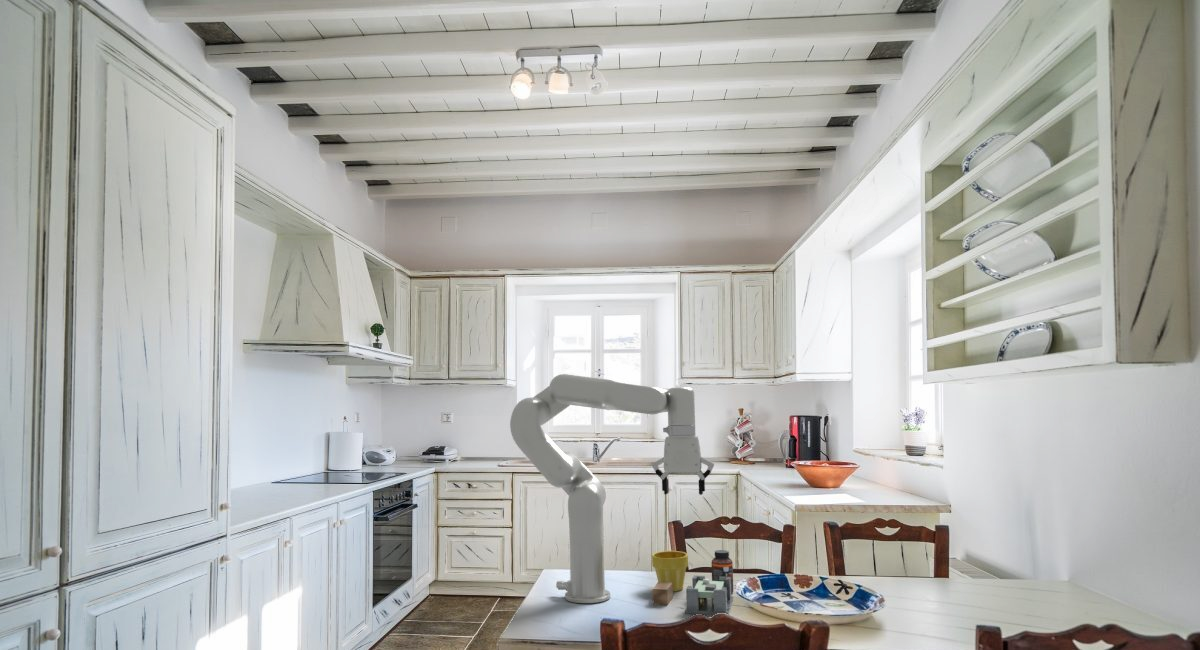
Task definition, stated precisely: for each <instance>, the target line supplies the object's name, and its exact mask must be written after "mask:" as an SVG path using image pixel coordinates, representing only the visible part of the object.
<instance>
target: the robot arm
mask: <svg viewBox="0 0 1200 650" xmlns="http://www.w3.org/2000/svg"><path fill="white" fill-rule="evenodd" d="M570 406H576V407H577V406H578V407H585V408H591V409H599V410H606V411H609V410H610V411H613V410H614V411H624V412H630V413H631V412H632V413H636V414H638V413H639V414H643V415H644V414H645V415H657V414H660V413H661V414H662V413H667V424H668V425H667V426H665V427H663V428H662V432H663V433H666V434H667V435H668V436H665V439H664V447H663V457H662V458H660V459H658V460H657V461H654V462H652V463H651V466H652V468H653V470H654V472H655V474H656V475H657V476H658V477H659V478H660V480H661V489H662V490H661V491H662V492H663V493H664V495H668V494H669V492H670V491H669V490H670V489H669V478H668V476H669V475H670V474H696V475H697V477H698V478H699V480H698V495H700V496H701V495H703V494H704V492H706V483H705V482H706V481H705V480H706V478H707V477H708V476H709V475H710V474H711V473H712V471H713V469H714V466H715V462H712V461H711V460H708V459H707V458H704V457H702V454H701V446H700V441H699V436H696V413H695V412H696V411H695V410H696V408H695V407H696V406H695V391H694V389H693V388H691V387H687V386H686V387H684V386H683V387H682V386H680V387H678V386H677V387H671V388H664V387H663V388H662V387H656V386H647V385H638V384H631V383H624V382H623V383H622V382H618V381H615V380H611V379H606V378H599V377H591V376H590V377H589V376H581V375H575V374H566V373H563V374H562V373H561V374H558V375H556V376H553V378H552V379H551V380H550V383H549V386H547V387H545V389H543V390H542V391H540V392H539V393H537V394H536V395H534V396H533V397H526V398H523V399H521V400H520V401H518V402H517V404H516V405H515V406H514V408H513V410H512V412H511V416H510V420H509V421H510V423H509V428H510V429H509V430H510V434H511V437H512V439H513V441H514V443H515V444H516V446H517V447H518V448H519V450H520V451H521V452H522V453H523V454H524V455H525V456H526V458H527V459H528V461H530V462H531V464H532V465H533V466H534V467H535V468H536V470H537V471H539V473H540V474H541V475H542V476H543V477H544V479H545V480H546V481H547V482H548V483H549V484H550V485H551V486H553V487H555V488H559V489H560V488H561V489H562V490H563V491H564V493H566V495H568V499H567V513H568V527H569V531H568V532H569V565H570V566H569V572H570V573H569V575H570V577H569V580H567V581H563V580H562V581H559V580H558V581H556V585H555V588H556V589H557V590H560V591H561V590H562V591H563V590H565V591H566V592H565V594H564V599H565V600H566V601H569V602H571V603H574V604H575V603H576V604H577V603H578V604H594V603H595V604H597V603H602V602H605V601H607V600H609V599H610V598H611V592H610V591H609V590H608V589H605V585H606V583H605V542H604V541H605V540H604V537H605V536H604V516H603V515H604V513H603V506H604V504H605V501H606V499H607V498H606V497H607V494H606V489H605V487H604V485H603V484H602V483H601V481H600V480H599V479H598V478H597V477H596V476H595V475H594V474H593V473H592V472H591V471H590V469H588V467H587V466H586V465H585V464H584V463H583V462H582V461H581V460H580V458H578V457H577V456H576V455H575V454H573V453H571V452H570V451H569V452H567V451H563V450H562V449H561V448H560V447H559V446H558V445H557V444H556V442H554V440H553V439H552V438H551V437H550V436H549V435H548V434H547V433H545V431H544V430H543V429H542V426H543V425H545V424H546V423H548V422H550V421H551V420H552V419H553V418H554V417H556V416H557V415H559V414H560V413H562V412H563V411H564V410H566V409H567V408H569V407H570ZM661 464H663V471H662V470H661V469H660V468H659V466H660V465H661ZM702 464H704V465H706V466H707V469H706V471H702Z"/></svg>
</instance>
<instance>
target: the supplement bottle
mask: <svg viewBox="0 0 1200 650" xmlns="http://www.w3.org/2000/svg"><path fill="white" fill-rule="evenodd" d="M729 556H730V552H729V550H726V549H718V550H714V557H713V559H711V581H719V577H731V594H732V593H733V592H734V566H733V560H732V559H731V558H730V557H729Z"/></svg>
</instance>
